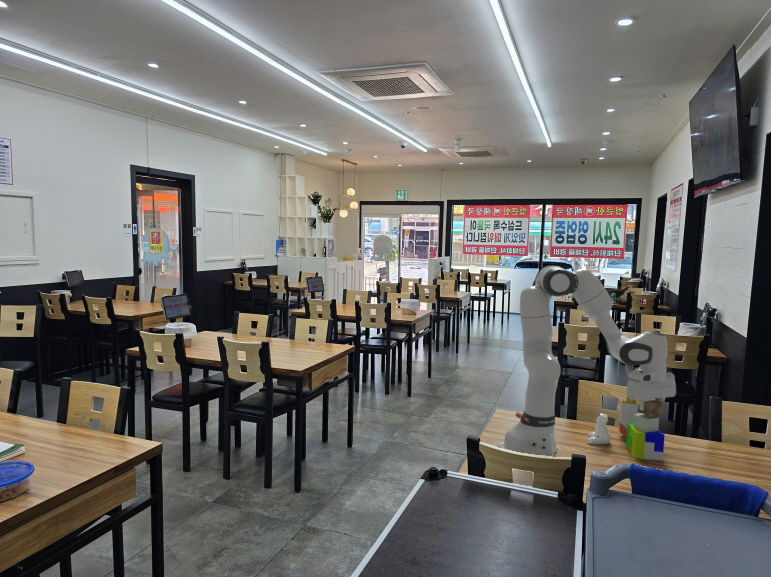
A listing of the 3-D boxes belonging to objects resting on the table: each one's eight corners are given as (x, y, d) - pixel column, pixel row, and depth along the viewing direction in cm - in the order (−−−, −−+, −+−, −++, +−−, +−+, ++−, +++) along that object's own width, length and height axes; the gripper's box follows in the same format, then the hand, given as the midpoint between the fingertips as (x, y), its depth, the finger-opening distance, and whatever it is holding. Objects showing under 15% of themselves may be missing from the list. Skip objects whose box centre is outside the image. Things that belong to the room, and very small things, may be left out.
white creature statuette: (589, 436, 211) (590, 408, 210) (611, 439, 207) (613, 411, 206) (586, 443, 202) (588, 414, 201) (610, 448, 198) (611, 418, 197)
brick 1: (650, 416, 188) (650, 403, 188) (637, 411, 194) (638, 398, 193) (662, 415, 190) (663, 402, 189) (650, 410, 195) (650, 397, 195)
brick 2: (645, 432, 188) (646, 419, 188) (633, 426, 194) (634, 414, 194) (658, 430, 190) (659, 418, 190) (645, 425, 196) (646, 412, 196)
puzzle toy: (662, 460, 187) (664, 434, 186) (634, 458, 189) (635, 432, 188) (653, 450, 197) (655, 425, 196) (626, 447, 199) (627, 423, 198)
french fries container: (618, 433, 214) (620, 392, 212) (647, 437, 210) (649, 395, 208) (619, 437, 209) (621, 395, 208) (648, 441, 205) (651, 398, 204)
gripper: (667, 370, 196) (665, 404, 197) (624, 373, 190) (622, 408, 192) (681, 374, 190) (679, 409, 191) (637, 377, 184) (635, 414, 186)
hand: (650, 409), depth 192 cm, fingers closed on brick 1, 6 cm apart
